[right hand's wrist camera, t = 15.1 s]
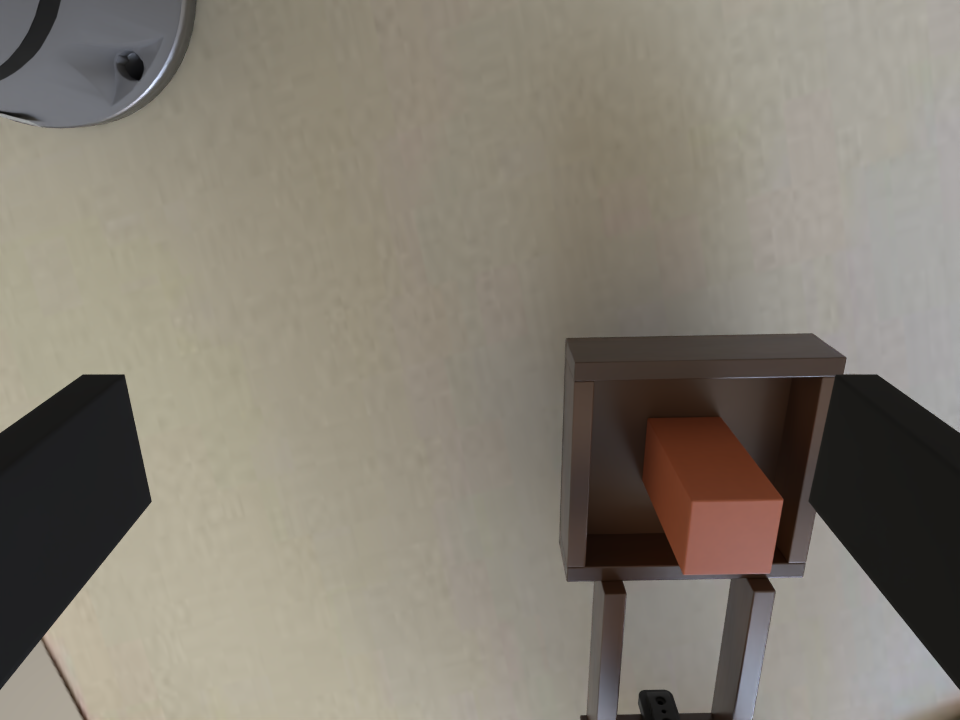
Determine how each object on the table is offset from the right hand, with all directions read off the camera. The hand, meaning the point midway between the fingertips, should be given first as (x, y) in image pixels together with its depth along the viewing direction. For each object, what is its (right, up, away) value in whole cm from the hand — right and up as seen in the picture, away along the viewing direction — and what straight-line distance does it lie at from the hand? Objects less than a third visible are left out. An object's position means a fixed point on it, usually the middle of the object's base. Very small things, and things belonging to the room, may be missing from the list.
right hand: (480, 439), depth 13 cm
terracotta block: (+11, -3, +24) cm, 27 cm away
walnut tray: (+11, -10, +28) cm, 31 cm away
